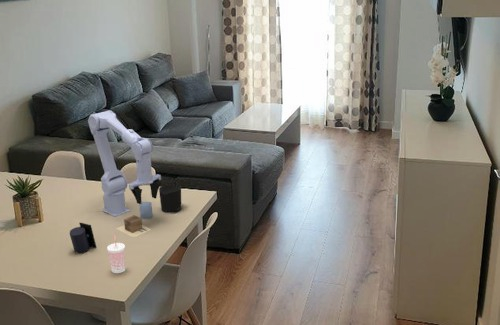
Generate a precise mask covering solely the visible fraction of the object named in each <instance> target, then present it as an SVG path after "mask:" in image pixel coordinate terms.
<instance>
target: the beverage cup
mask: <svg viewBox="0 0 500 325" xmlns="http://www.w3.org/2000/svg"><path fill="white" fill-rule="evenodd" d="M113 236H114V237H113V238H114V243H111V244H109V245H107V247H106V250H107V253H108V257H109V262H110V267H111V268H110V269H111V272H112V273H114V274H120V273H123V272H125V271H126V258H125V257H126V255H125V254H126V253H125V251H126V250H125V249H126V245H125V244H124V243H122V242H117V237H116V233H113Z"/></svg>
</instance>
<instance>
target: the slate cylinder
mask: <svg viewBox="0 0 500 325" xmlns="http://www.w3.org/2000/svg"><path fill="white" fill-rule="evenodd" d="M139 213H140V216H139V217H140V218H141V219H142V220H147V219H148V220H149V219H151V218H152V217H153V205H152V202H151V201H141V204H139Z"/></svg>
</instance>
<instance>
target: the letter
mask: <svg viewBox="0 0 500 325" xmlns="http://www.w3.org/2000/svg"><path fill="white" fill-rule="evenodd" d="M142 228H143V229H141V230H138V231H136V232H134V233H131V232H129V231H127V230H125V225H124V224H123V225H121V226H119V227H116V228H115V229H116V230H117V231H120V232H121V233H123V234H125V235H128V236H129V237H132V238H135V237H138V236H140V235H143V234H145V233H147V232H150V231H152V229H151V228H149V227H147V226H145V225H143V224H142Z"/></svg>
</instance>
